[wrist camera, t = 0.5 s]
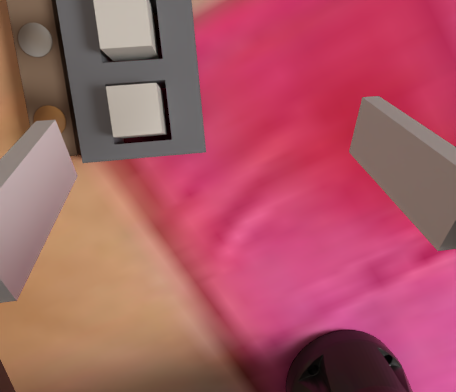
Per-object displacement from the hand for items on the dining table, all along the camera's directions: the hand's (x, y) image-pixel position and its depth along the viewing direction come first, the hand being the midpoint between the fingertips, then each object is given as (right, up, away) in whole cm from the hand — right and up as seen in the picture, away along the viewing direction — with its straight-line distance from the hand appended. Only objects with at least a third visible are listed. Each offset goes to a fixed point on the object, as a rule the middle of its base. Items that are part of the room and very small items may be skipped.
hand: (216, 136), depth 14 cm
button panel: (-9, +13, +18) cm, 24 cm away
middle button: (-9, +13, +16) cm, 23 cm away
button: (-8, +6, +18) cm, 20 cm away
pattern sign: (-18, +13, +18) cm, 28 cm away
